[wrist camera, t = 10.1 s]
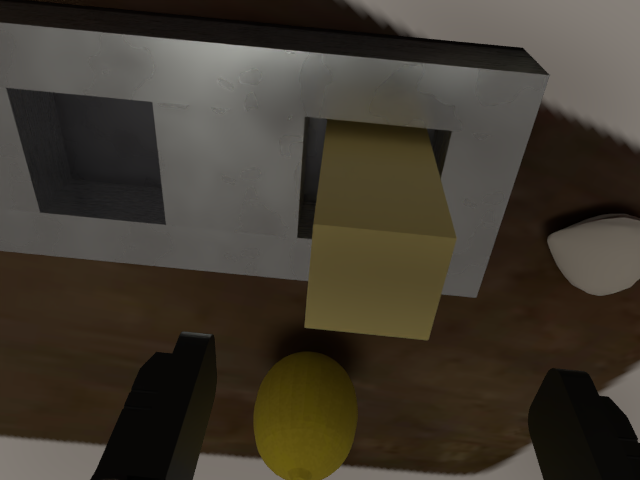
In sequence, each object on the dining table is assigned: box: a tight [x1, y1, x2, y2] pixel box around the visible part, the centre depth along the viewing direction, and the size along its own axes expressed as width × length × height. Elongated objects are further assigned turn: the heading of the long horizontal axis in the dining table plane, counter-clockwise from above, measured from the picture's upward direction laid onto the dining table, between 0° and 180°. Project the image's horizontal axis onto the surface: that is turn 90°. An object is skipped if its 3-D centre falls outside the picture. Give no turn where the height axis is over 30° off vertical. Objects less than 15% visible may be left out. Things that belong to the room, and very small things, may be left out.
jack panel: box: [0, 0, 550, 298], centre depth 22 cm, size 10×22×4 cm, turn 86°
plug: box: [304, 119, 457, 340], centre depth 19 cm, size 5×4×9 cm
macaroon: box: [547, 214, 640, 296], centre depth 24 cm, size 4×5×2 cm
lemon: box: [254, 351, 358, 480], centre depth 28 cm, size 6×6×8 cm
